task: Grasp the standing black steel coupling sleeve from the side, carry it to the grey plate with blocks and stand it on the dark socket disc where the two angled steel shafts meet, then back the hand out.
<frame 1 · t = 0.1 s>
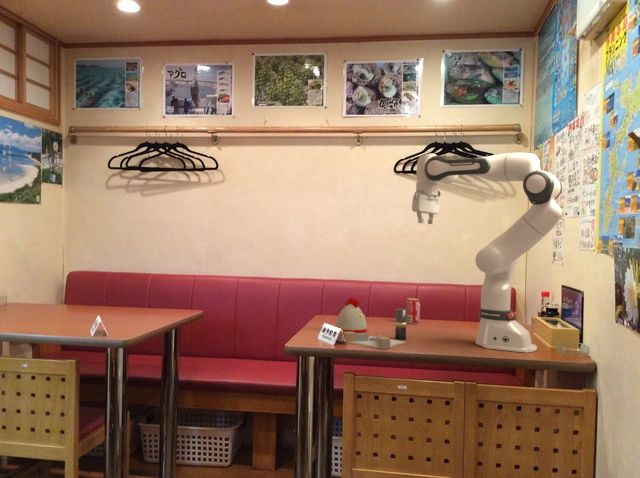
hand: (425, 223, 217), 48 cm above the table, tool pointing down, fingers open, 8 cm apart
soda can: (412, 323, 246), on the table
kitchen timer: (351, 331, 221), on the table
grey plate with blocks: (370, 341, 198), on the table
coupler: (400, 339, 205), on the table
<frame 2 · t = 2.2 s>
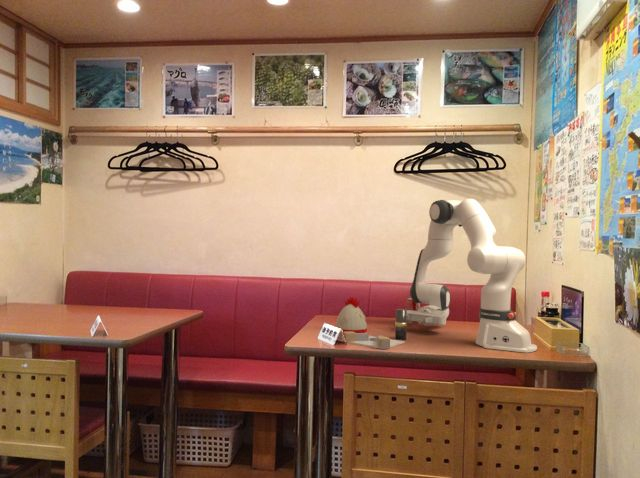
hand: (414, 319, 215), 7 cm above the table, tool horizontal, fingers open, 8 cm apart
nothing on the table moved.
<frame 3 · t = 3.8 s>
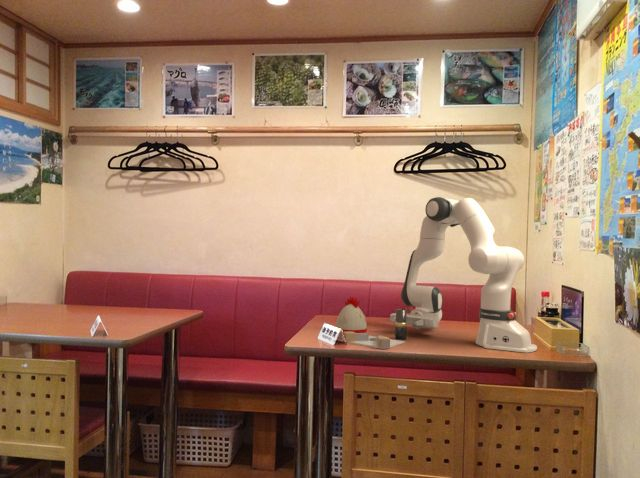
hand: (404, 321, 208), 7 cm above the table, tool horizontal, fingers open, 8 cm apart
nothing on the table moved.
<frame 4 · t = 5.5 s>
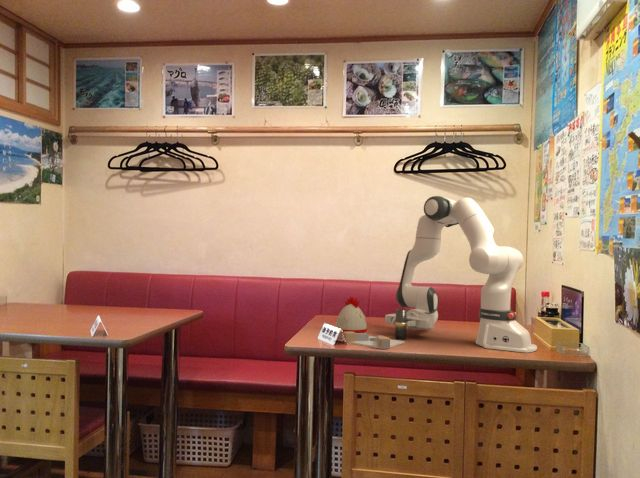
hand: (399, 323, 205), 7 cm above the table, tool horizontal, fingers closed on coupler, 5 cm apart
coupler: (400, 339, 205), on the table, touching gripper
everything else where it was.
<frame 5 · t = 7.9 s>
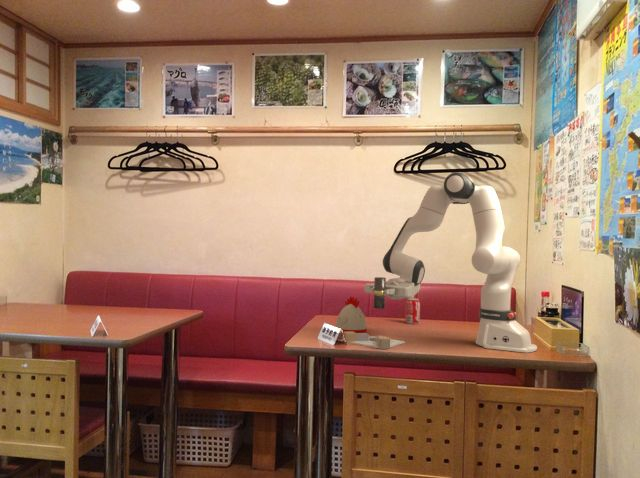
hand: (378, 291, 199), 20 cm above the table, tool horizontal, fingers closed on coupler, 5 cm apart
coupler: (379, 307, 199), point 13 cm above the table, touching gripper
everything else where it was.
when the fingers open (8 cm above the table, at t = 10.5 s): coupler stays where it is, resting on grey plate with blocks.
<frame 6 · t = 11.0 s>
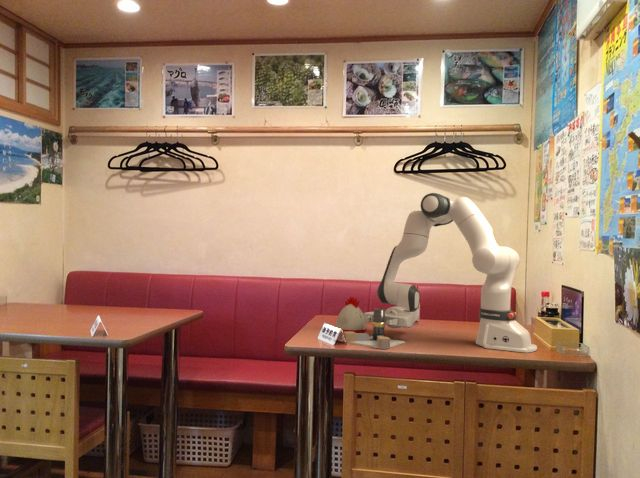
hand: (377, 321, 198), 8 cm above the table, tool horizontal, fingers open, 8 cm apart
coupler: (378, 339, 199), point 1 cm above the table, touching grey plate with blocks
everything else where it was.
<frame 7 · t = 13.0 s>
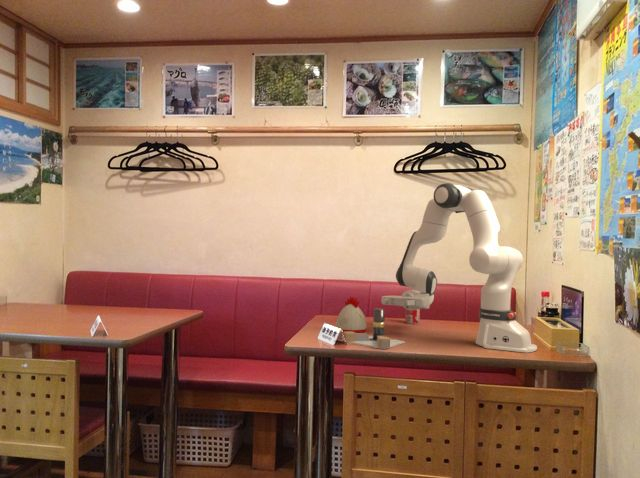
hand: (395, 302, 208), 15 cm above the table, tool horizontal, fingers open, 8 cm apart
nothing on the table moved.
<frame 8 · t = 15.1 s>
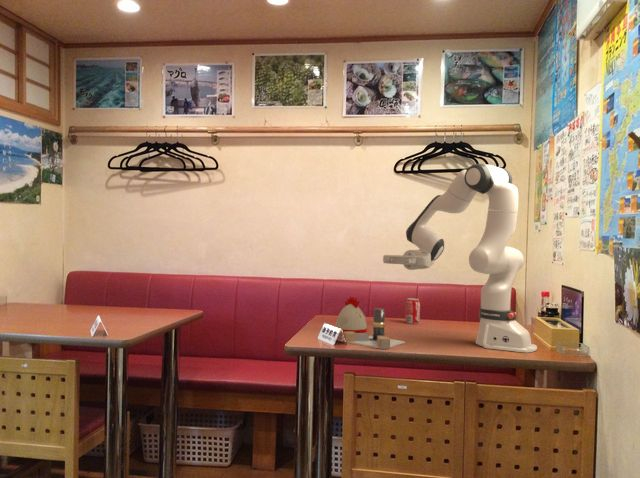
hand: (397, 260, 210), 32 cm above the table, tool horizontal, fingers open, 8 cm apart
nothing on the table moved.
at the end: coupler 0.1 cm from the target spot on the grey plate with blocks, point 0.8 cm above the grey plate with blocks's base; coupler tilted 0°; the gripper is holding nothing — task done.
